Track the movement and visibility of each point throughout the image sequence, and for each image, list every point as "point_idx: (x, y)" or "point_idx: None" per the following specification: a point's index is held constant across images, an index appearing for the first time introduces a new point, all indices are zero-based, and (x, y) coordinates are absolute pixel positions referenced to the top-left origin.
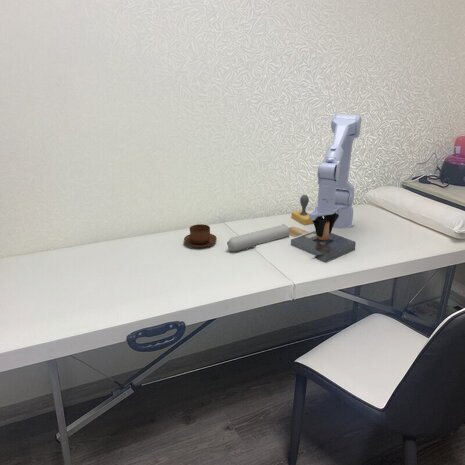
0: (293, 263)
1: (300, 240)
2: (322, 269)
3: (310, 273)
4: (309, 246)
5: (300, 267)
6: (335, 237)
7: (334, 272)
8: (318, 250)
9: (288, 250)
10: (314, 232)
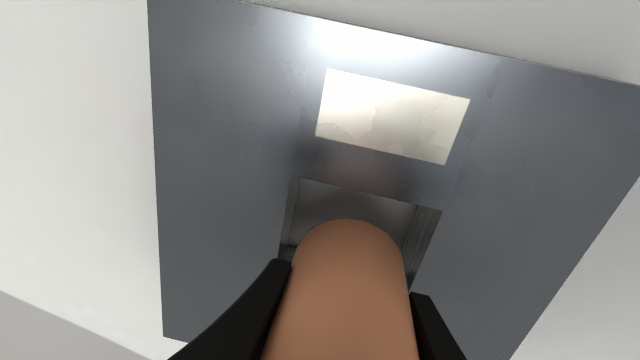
0: (34, 167)
1: (208, 88)
2: (121, 305)
3: (46, 279)
4: (168, 215)
5: (40, 220)
6: (481, 304)
7: (144, 348)
8: (167, 288)
9: (134, 17)
10: (518, 96)
